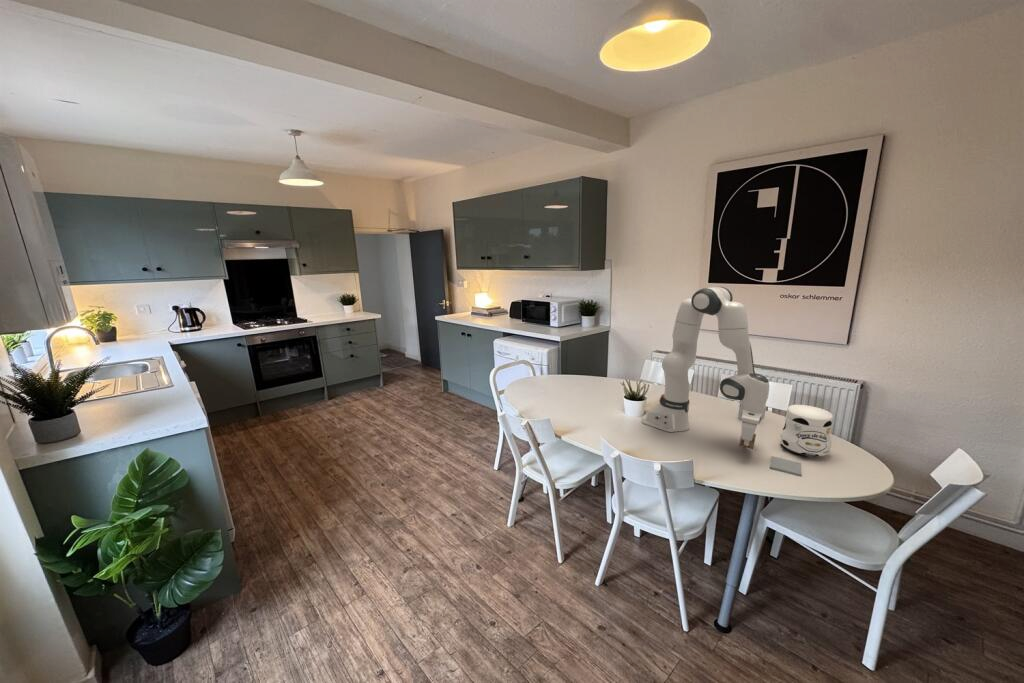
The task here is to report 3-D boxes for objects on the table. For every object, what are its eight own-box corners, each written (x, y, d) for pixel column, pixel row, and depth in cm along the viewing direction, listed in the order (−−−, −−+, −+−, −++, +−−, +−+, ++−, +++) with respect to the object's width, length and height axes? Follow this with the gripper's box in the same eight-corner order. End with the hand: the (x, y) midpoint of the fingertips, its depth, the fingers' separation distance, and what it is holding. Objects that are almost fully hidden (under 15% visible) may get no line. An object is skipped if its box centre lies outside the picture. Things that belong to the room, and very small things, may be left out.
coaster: (769, 468, 152) (770, 466, 152) (771, 457, 160) (771, 455, 160) (801, 476, 146) (801, 474, 146) (800, 464, 154) (801, 463, 154)
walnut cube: (739, 445, 164) (741, 435, 163) (740, 441, 168) (742, 430, 166) (752, 449, 161) (754, 438, 160) (754, 444, 165) (756, 434, 163)
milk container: (808, 463, 155) (815, 422, 151) (769, 444, 171) (775, 406, 167) (839, 456, 160) (847, 416, 156) (798, 438, 176) (804, 401, 172)
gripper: (746, 402, 170) (742, 430, 174) (740, 418, 155) (735, 449, 158) (763, 405, 167) (758, 434, 170) (758, 422, 151) (753, 454, 154)
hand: (747, 441), depth 164 cm, fingers closed on walnut cube, 5 cm apart
